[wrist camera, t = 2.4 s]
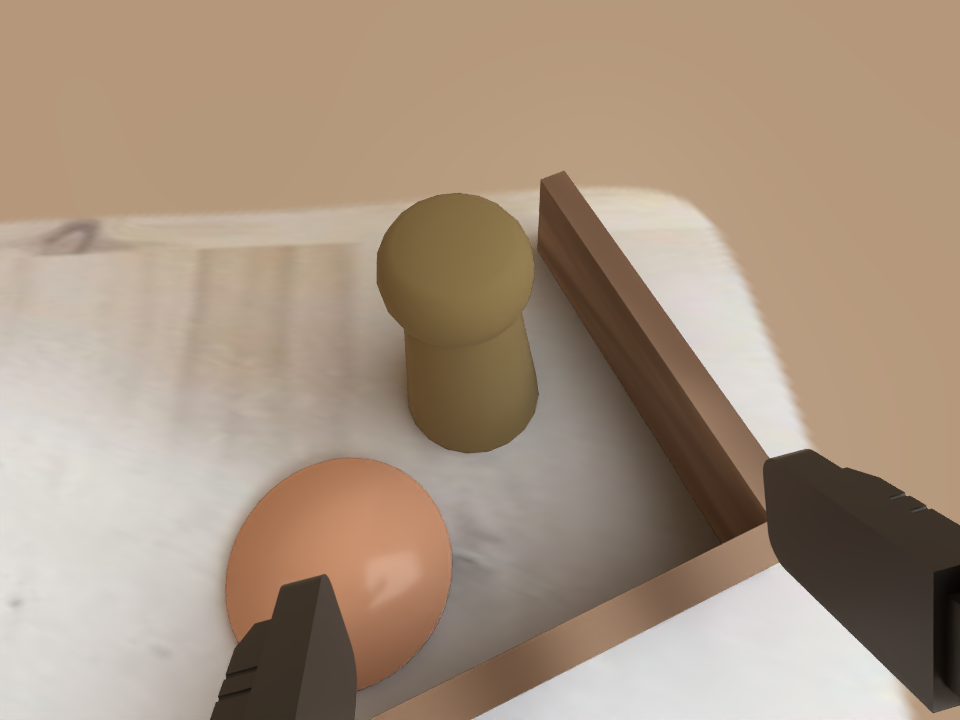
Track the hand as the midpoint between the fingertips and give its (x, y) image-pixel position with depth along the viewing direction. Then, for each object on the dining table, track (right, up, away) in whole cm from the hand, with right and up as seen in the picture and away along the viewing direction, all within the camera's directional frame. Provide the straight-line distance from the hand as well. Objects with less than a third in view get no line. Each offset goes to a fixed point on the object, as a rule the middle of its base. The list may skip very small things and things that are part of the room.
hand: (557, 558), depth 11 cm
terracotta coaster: (-7, -5, +14) cm, 16 cm away
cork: (-2, +2, +18) cm, 18 cm away
